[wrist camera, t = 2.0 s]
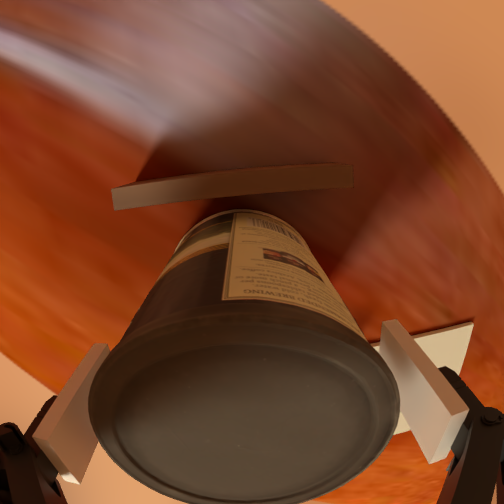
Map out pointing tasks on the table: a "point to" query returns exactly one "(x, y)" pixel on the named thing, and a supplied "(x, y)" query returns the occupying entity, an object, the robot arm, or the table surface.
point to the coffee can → (243, 374)
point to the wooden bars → (233, 184)
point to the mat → (440, 352)
